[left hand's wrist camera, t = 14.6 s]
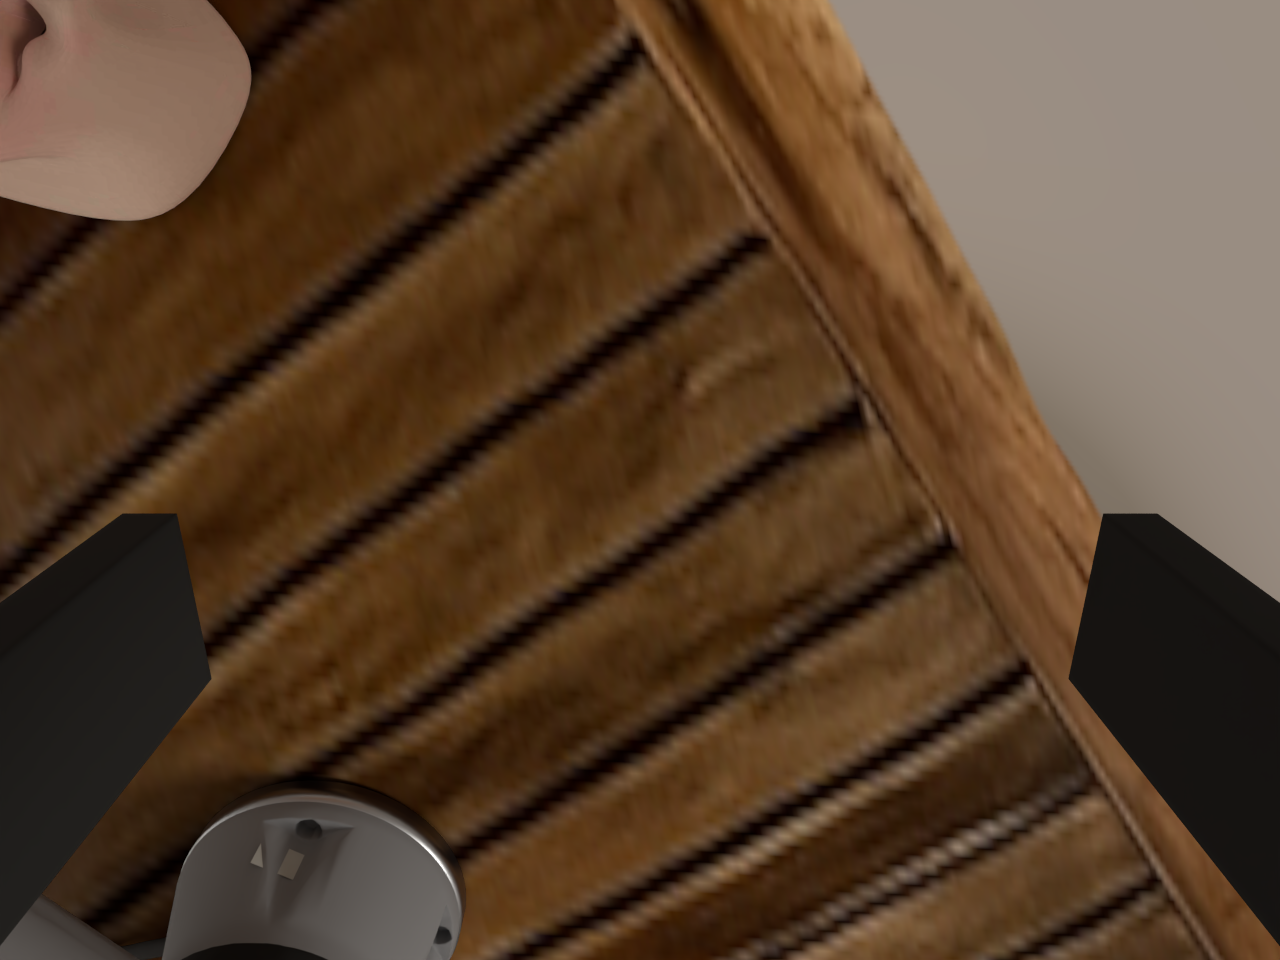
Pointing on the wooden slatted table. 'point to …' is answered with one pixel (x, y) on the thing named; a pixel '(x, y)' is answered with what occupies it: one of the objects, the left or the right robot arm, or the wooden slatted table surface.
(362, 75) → the wooden slatted table surface
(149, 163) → the anatomical model
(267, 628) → the wooden slatted table surface
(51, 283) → the wooden slatted table surface
